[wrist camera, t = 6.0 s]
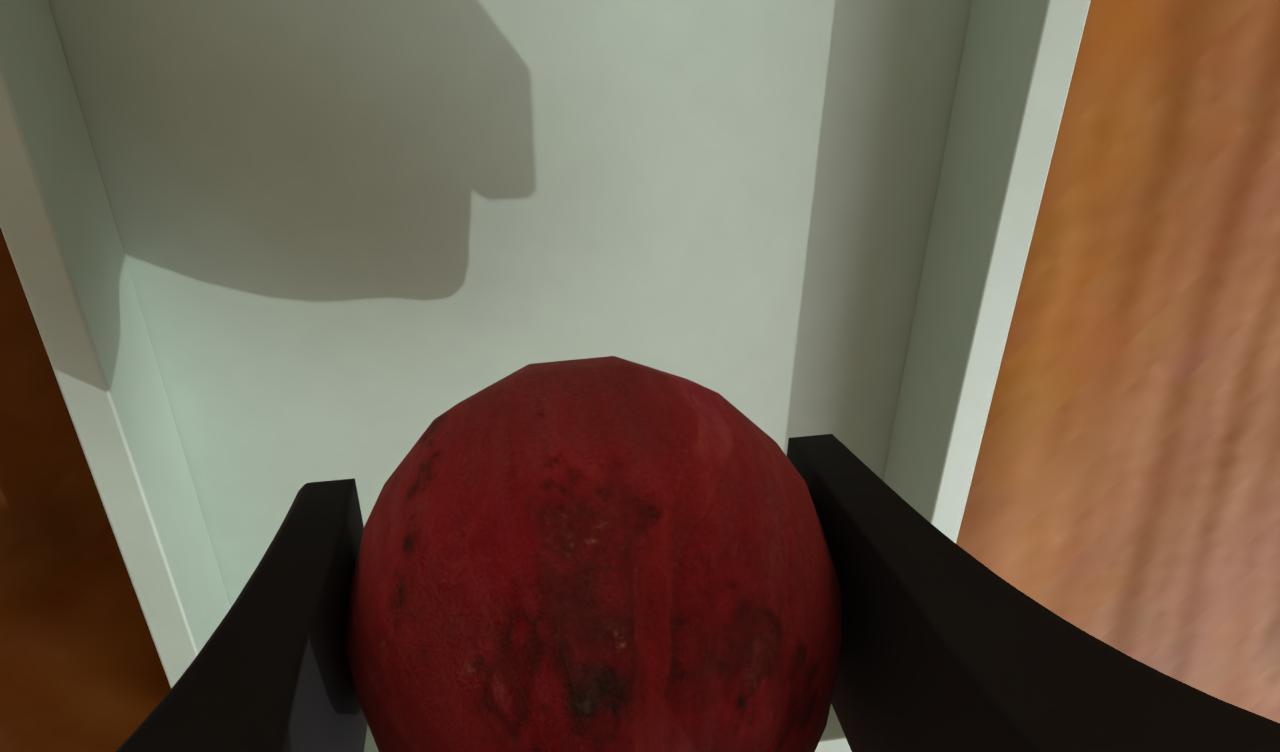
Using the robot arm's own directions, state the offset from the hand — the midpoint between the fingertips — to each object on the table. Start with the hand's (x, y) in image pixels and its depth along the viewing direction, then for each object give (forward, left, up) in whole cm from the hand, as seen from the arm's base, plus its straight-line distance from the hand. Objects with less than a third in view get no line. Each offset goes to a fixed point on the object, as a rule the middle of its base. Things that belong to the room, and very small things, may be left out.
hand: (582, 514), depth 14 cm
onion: (0, 0, -2) cm, 2 cm away
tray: (0, 0, -4) cm, 4 cm away
